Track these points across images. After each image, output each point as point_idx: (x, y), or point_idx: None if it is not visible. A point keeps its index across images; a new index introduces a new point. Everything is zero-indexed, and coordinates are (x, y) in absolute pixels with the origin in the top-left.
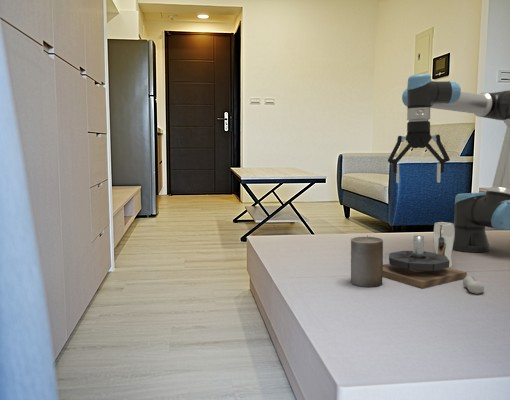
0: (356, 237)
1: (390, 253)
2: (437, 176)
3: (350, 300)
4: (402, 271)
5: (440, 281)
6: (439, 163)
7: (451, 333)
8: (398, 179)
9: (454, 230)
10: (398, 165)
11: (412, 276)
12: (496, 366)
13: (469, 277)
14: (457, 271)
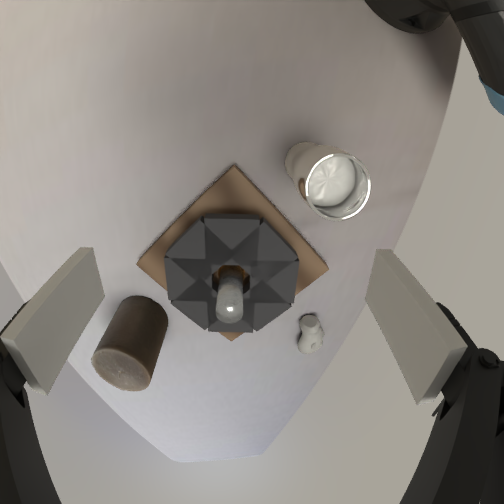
0: (96, 356)
1: (167, 257)
2: (386, 300)
3: None
4: None
5: None
6: (442, 382)
7: (243, 426)
8: (92, 310)
9: (360, 196)
10: (46, 387)
11: None
12: (261, 449)
13: (310, 334)
14: (311, 269)
